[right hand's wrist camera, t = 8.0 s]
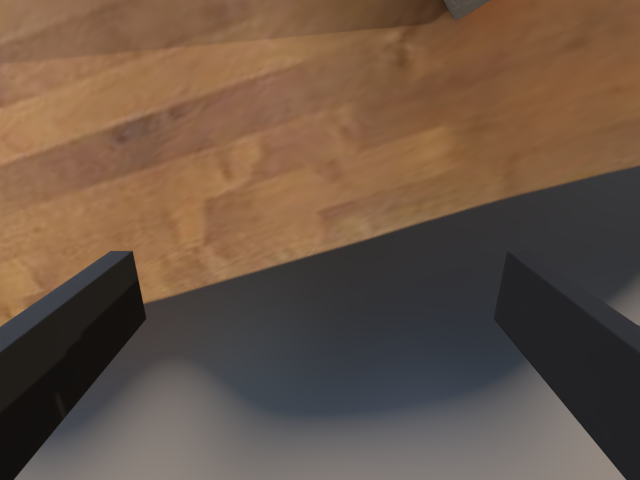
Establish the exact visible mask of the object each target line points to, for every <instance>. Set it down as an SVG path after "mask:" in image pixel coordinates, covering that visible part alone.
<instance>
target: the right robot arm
mask: <svg viewBox="0 0 640 480" xmlns="http://www.w3.org/2000/svg"><path fill="white" fill-rule="evenodd" d="M145 320H146V315H145V310H144V305H143V300H142V295H141V290H140V285H139V280H138V275H137V271H136V266H135V261H134V256H133V251H110V252H109V253H107V254H106V255H104V256H103V257H101V258H100V259H99V260H97V261H96V262H94V263H93V264H91V265H90V266H88V267H87V268H85V269H84V270H82V271H81V272H80V273H78V274H77V275H75V276H74V277H72V278H71V279H69V280H68V281H66V282H65V283H64V284H62V285H61V286H59V287H58V288H56V289H55V290H53V291H52V292H50V293H49V294H48V295H46V296H45V297H43V298H42V299H40V300H39V301H37V302H36V303H34V304H33V305H31V306H30V307H29V308H27V309H26V310H24V311H23V312H21V313H20V314H18V315H17V316H15V317H14V318H13V319H11V320H10V321H8V322H7V323H5V324H4V325H2V326H1V327H0V480H14V479H15V477H16V476H17V475H18V474H19V473H20V471H21V470H22V469H23V468H24V467H25V465H26V464H27V463H28V462H29V460H30V459H31V458H32V457H33V456H34V454H35V453H36V452H37V451H38V450H39V448H40V447H41V446H42V445H43V443H44V442H45V441H46V440H47V439H48V437H49V436H50V435H51V434H52V433H53V431H54V430H55V429H56V428H57V426H58V425H59V424H60V423H61V422H62V420H63V419H64V418H65V417H66V415H67V414H68V413H69V412H70V411H71V409H72V408H73V407H74V406H75V405H76V403H77V402H78V401H79V400H80V399H81V397H82V396H83V395H84V394H85V392H86V391H87V390H88V389H89V387H90V386H91V385H92V384H93V383H94V381H95V380H96V379H97V378H98V377H99V375H100V374H101V373H102V372H103V371H104V369H105V368H106V367H107V366H108V364H109V363H110V362H111V361H112V360H113V358H114V357H115V356H116V355H117V354H118V352H119V351H120V350H121V349H122V347H123V346H124V345H125V344H126V343H127V341H128V340H129V339H130V338H131V337H132V335H133V334H134V333H135V332H136V330H137V329H138V328H139V327H140V326H141V324H142V323H143V322H144V321H145ZM494 320H495V321H496V322H497V323H498V324H499V326H500V327H501V328H502V329H503V330H504V332H505V333H506V334H507V335H508V337H509V338H510V339H511V340H512V341H513V343H514V344H515V345H516V346H517V347H518V349H519V350H520V351H521V352H522V354H523V355H524V356H525V357H526V358H527V360H528V361H529V362H530V363H531V365H532V366H533V367H534V368H535V369H536V371H537V372H538V373H539V374H540V375H541V377H542V378H543V379H544V380H545V381H546V383H547V384H548V385H549V386H550V388H551V389H552V390H553V391H554V392H555V394H556V395H557V396H558V397H559V399H560V400H561V401H562V402H563V403H564V405H565V406H566V407H567V408H568V409H569V411H570V412H571V413H572V414H573V415H574V417H575V418H576V419H577V420H578V422H579V423H580V424H581V425H582V426H583V428H584V429H585V430H586V431H587V433H588V434H589V435H590V436H591V437H592V438H593V440H594V441H595V442H596V443H597V445H598V446H599V447H600V448H601V450H602V451H603V452H604V453H605V454H606V456H607V457H608V458H609V459H610V460H611V462H612V463H613V464H614V465H615V467H616V468H617V469H618V470H619V471H620V473H621V474H622V475H623V476H624V477H625V479H626V480H640V326H638V325H636V324H635V323H633V322H632V321H630V320H629V319H627V318H626V317H625V316H623V315H622V314H620V313H619V312H617V311H616V310H614V309H613V308H611V307H610V306H609V305H607V304H606V303H604V302H603V301H601V300H600V299H598V298H597V297H595V296H594V295H592V294H591V293H590V292H588V291H587V290H585V289H584V288H582V287H581V286H579V285H578V284H576V283H575V282H574V281H572V280H571V279H569V278H568V277H566V276H565V275H563V274H562V273H560V272H559V271H557V270H556V269H555V268H553V267H552V266H550V265H549V264H547V263H546V262H544V261H543V260H541V259H540V258H539V257H537V256H536V255H534V254H533V253H531V252H530V251H507V256H506V261H505V266H504V271H503V276H502V280H501V285H500V290H499V295H498V300H497V305H496V310H495V315H494Z"/></svg>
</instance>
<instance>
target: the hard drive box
mask: <svg viewBox="0 0 640 480" xmlns="http://www.w3.org/2000/svg"><path fill="white" fill-rule="evenodd" d="M443 1H444V3H445V4H446V6H447V8H448V10H449V11H450V13H451V15H452V16H453V18H454V19H455V20H458V19H460V18H462V17H463V16H465V15H467V14H468V13H470V12H472V11H473V10H475V9H477V8H478V7H480V6H481V5H483V4H485V3H487V2H488V1H490V0H443Z"/></svg>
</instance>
